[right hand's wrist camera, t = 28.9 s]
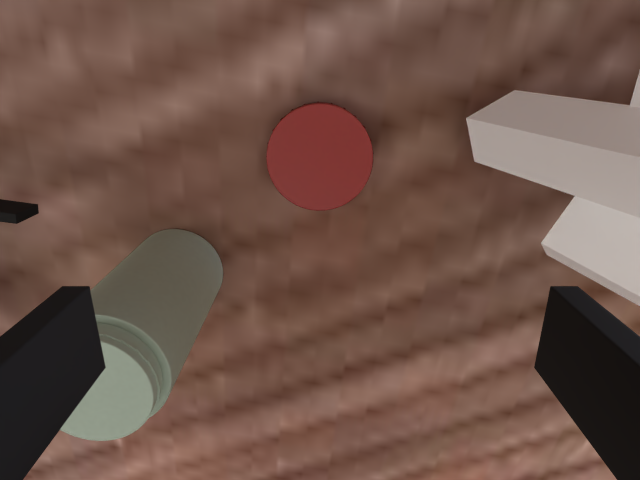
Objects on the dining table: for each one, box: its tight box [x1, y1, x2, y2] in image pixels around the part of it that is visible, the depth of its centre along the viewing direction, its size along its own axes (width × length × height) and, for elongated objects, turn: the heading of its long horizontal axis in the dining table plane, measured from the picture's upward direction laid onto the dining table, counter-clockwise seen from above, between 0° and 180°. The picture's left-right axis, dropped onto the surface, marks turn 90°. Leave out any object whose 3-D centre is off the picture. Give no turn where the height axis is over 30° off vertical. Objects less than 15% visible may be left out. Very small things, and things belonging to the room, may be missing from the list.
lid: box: [266, 102, 373, 211], centre depth 39 cm, size 9×9×2 cm
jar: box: [60, 229, 223, 441], centre depth 35 cm, size 9×9×18 cm
